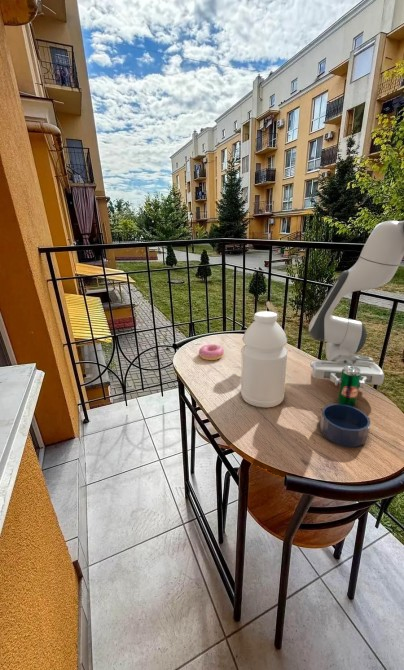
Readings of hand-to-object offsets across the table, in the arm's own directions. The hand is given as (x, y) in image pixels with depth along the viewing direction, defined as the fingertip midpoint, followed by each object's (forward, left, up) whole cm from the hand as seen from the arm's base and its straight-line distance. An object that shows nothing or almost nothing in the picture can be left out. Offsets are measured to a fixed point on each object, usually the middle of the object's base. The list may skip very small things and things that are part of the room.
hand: (350, 384), depth 83 cm
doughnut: (+43, -36, -7) cm, 56 cm away
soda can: (0, -1, -7) cm, 7 cm away
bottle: (+25, -5, -7) cm, 26 cm away
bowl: (+6, +12, -7) cm, 15 cm away
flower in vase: (+20, -30, -7) cm, 37 cm away
